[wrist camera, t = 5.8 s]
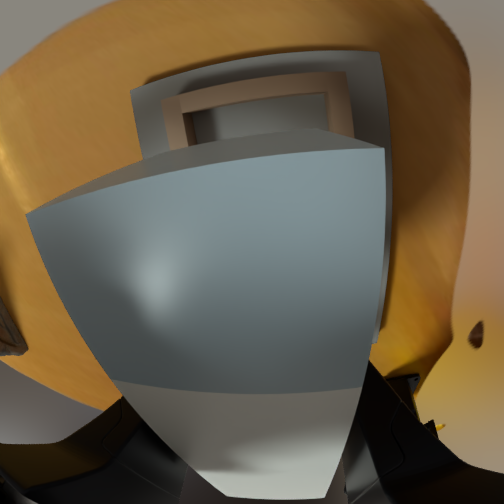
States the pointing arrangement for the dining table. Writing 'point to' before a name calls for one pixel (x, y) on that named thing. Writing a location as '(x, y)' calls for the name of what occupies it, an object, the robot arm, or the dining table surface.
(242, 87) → the cradle jig
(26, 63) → the dining table surface
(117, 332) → the pale grey rectangular block
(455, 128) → the dining table surface
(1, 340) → the worn brown figurine
